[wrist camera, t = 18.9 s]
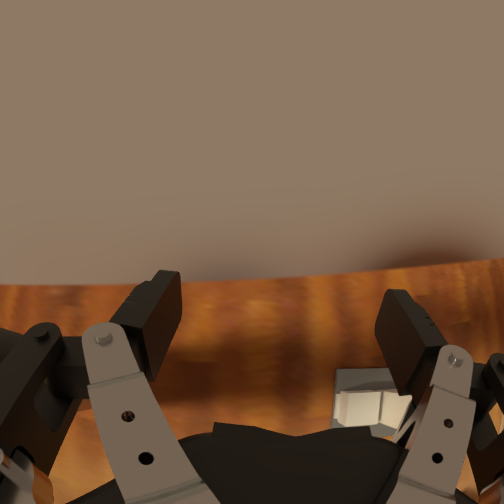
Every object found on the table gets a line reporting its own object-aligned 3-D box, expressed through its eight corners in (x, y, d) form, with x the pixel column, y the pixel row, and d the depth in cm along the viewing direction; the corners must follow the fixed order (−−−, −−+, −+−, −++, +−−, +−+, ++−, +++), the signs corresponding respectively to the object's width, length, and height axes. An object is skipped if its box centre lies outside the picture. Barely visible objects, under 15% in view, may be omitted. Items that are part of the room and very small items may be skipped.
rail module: (372, 419, 36) (405, 432, 26) (375, 390, 38) (410, 394, 28) (399, 416, 36) (436, 426, 26) (402, 388, 38) (440, 390, 28)
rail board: (328, 439, 37) (339, 448, 32) (335, 368, 42) (347, 369, 36) (423, 428, 36) (440, 433, 31) (428, 364, 41) (447, 363, 35)
